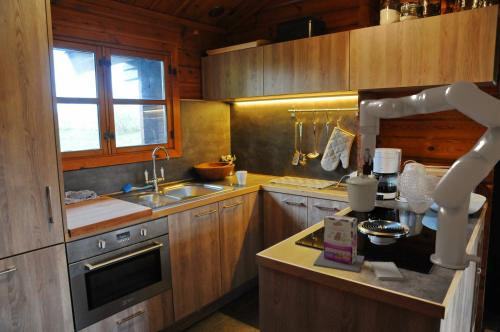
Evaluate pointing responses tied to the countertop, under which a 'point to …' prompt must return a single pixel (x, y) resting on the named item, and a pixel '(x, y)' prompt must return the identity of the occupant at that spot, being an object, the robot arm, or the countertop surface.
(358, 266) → the mat
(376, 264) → the hard drive
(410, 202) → the heart
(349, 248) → the candy bar box
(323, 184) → the countertop surface
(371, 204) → the canister
